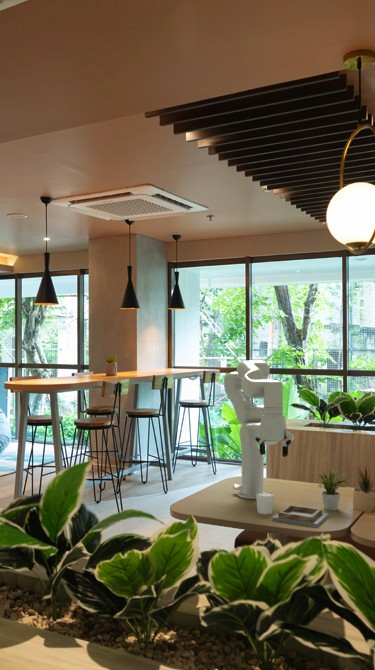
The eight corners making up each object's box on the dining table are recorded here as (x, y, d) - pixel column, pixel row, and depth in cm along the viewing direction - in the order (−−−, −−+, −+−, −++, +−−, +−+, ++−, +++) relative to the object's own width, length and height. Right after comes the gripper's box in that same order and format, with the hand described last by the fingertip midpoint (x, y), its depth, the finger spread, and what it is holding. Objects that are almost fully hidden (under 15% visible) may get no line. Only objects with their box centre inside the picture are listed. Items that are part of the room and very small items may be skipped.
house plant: (327, 515, 231) (327, 472, 231) (304, 507, 243) (304, 466, 243) (355, 511, 238) (355, 469, 238) (331, 503, 250) (331, 463, 250)
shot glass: (273, 515, 231) (273, 496, 231) (255, 514, 233) (255, 495, 233) (274, 510, 238) (274, 492, 238) (256, 509, 239) (256, 491, 240)
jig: (272, 520, 224) (272, 512, 224) (285, 511, 237) (285, 503, 237) (317, 527, 216) (317, 518, 216) (328, 517, 229) (328, 509, 229)
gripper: (249, 411, 240) (249, 454, 239) (289, 413, 231) (289, 458, 230) (258, 410, 247) (258, 452, 246) (297, 412, 237) (298, 456, 236)
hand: (273, 455), depth 238 cm, fingers open, 9 cm apart
